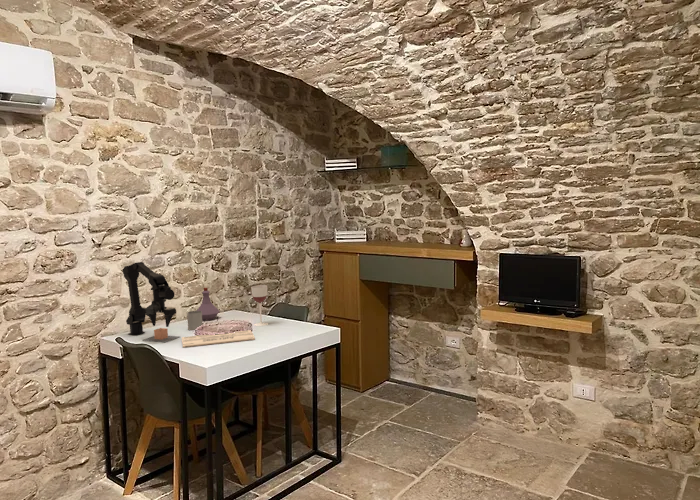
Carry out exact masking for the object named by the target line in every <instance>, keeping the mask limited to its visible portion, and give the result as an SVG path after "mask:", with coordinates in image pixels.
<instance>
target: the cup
mask: <svg viewBox="0 0 700 500" xmlns="http://www.w3.org/2000/svg"><path fill="white" fill-rule="evenodd" d="M186 314H187V317H186V318H187V330H188V331H194V330H195V329H196V328H197V327H199V326H201V325H203V320H202V311H197V310H191V311H187V313H186ZM203 326H204V325H203ZM195 331H196V330H195Z"/></svg>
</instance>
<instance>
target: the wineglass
mask: <svg viewBox="0 0 700 500" xmlns="http://www.w3.org/2000/svg"><path fill="white" fill-rule="evenodd" d="M250 289H251V291H250V292H251V295H252V296H251V297H252V299H253V300H254V302H256V303H258V304H259V322H256V323H254V324H253V326H255V327H264V326H268V325H269V323H268V322H263V319H262V303H263V302H265V300H266V299H267V296H268V285H266V284H265V285H264V284H259V285H257V284H256V285H252V286H251V287H250Z"/></svg>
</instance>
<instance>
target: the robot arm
mask: <svg viewBox="0 0 700 500" xmlns="http://www.w3.org/2000/svg"><path fill="white" fill-rule="evenodd" d="M140 274H141V275H142V276H144V277H145V278H146V279H147V280H148V284H149V285H151V288H150V290H151V291H152V297H153V298H152V299H153V300H152V301H151V304H150V305H148V306H146V307H143V306H142V305H141V300H140V293H139V286H138V280H139V277H140ZM122 275H123V278H124V279H125V280H126V281H127V285H128V292H129V300H130V309H128V317H127V319H126V320H125V322H126V325H128V326H129V333H128V335H131V336H138V335H142V334H145V333H146V331H144V328H143V323H145V321H146V317H148V318H149V319H150V322H151V324H152V326H153V327H155V326H156V323H157V322H156V321H157V313H161V314H163V318H164V319H165V327H166V328H169V326H170V324H171V323H170V322H171V320H172V318H173V316H175V314H177V309H176V308H175V307H174V308H172V307H169V308H167V307H168V306H166V304H165V302H167V301H171V300H174V297H175V292H174V290H173V289H172V288H171V287H172V286H170V285H169V283H168V282H167V281H168V280H166V277H165V276H164V275H162V274H161V273H157V272H155V271H153V270H152V269H151V268H150V267H148V266H147V265H146V264H145V263H144V262H143V261H137V262H134V263H132V264H130V265H125V266H124V267H123V268H122Z"/></svg>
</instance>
